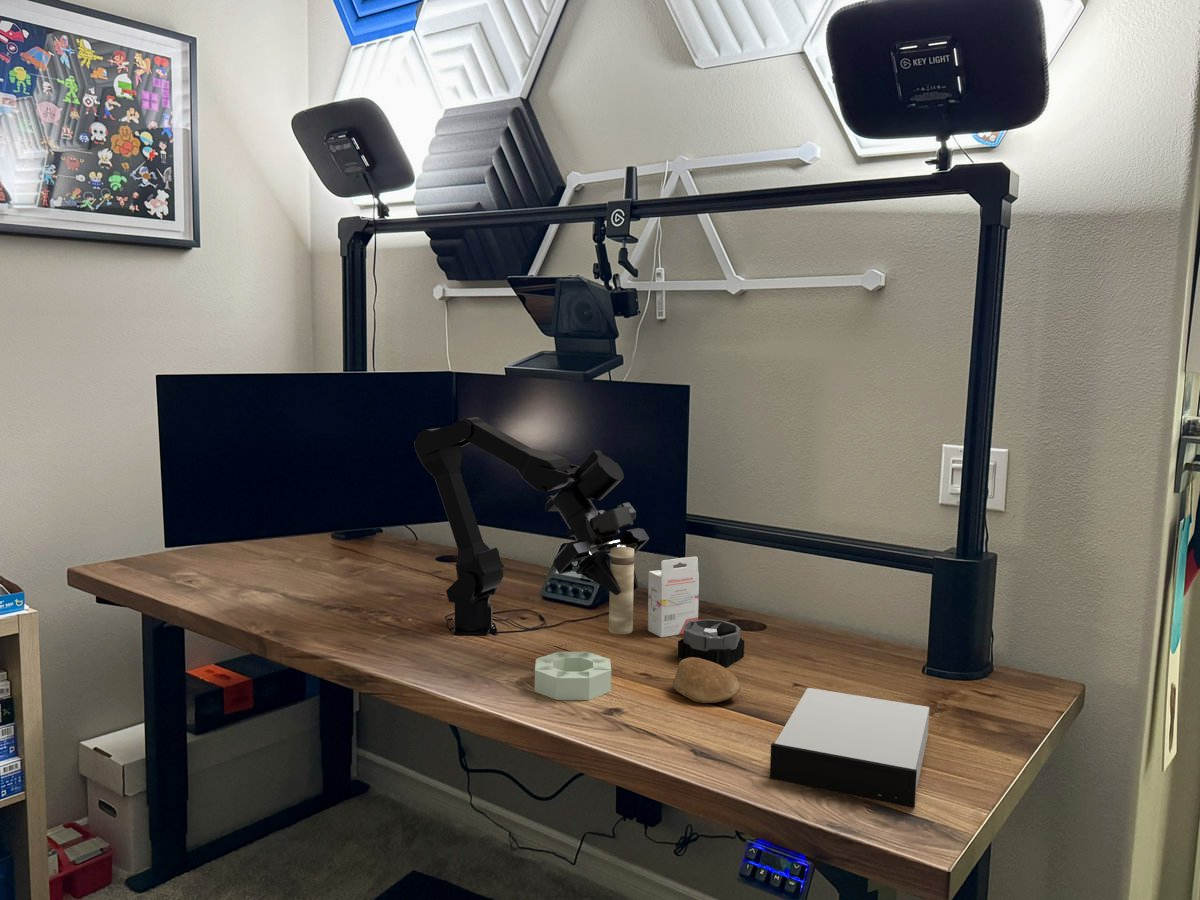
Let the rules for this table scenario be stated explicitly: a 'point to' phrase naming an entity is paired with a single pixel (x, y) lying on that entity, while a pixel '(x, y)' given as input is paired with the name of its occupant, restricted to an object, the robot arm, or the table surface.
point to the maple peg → (622, 590)
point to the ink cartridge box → (673, 596)
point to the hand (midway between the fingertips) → (627, 591)
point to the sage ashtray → (572, 675)
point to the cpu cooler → (712, 642)
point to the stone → (705, 681)
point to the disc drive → (853, 746)
